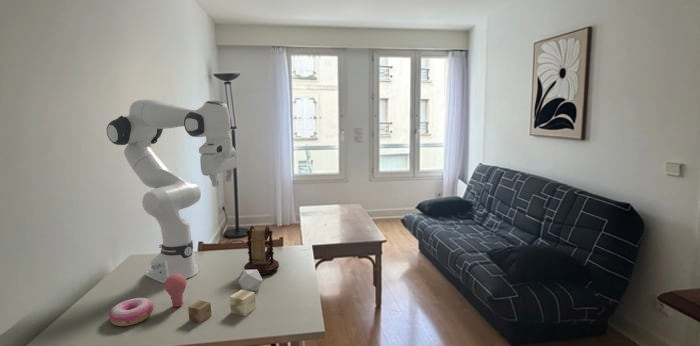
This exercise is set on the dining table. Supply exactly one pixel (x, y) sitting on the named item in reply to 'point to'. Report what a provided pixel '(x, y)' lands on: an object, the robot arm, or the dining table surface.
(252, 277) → the die
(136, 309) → the donut
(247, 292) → the oak cube
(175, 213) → the robot arm
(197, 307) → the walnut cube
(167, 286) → the light bulb
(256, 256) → the scroll
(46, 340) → the dining table surface
